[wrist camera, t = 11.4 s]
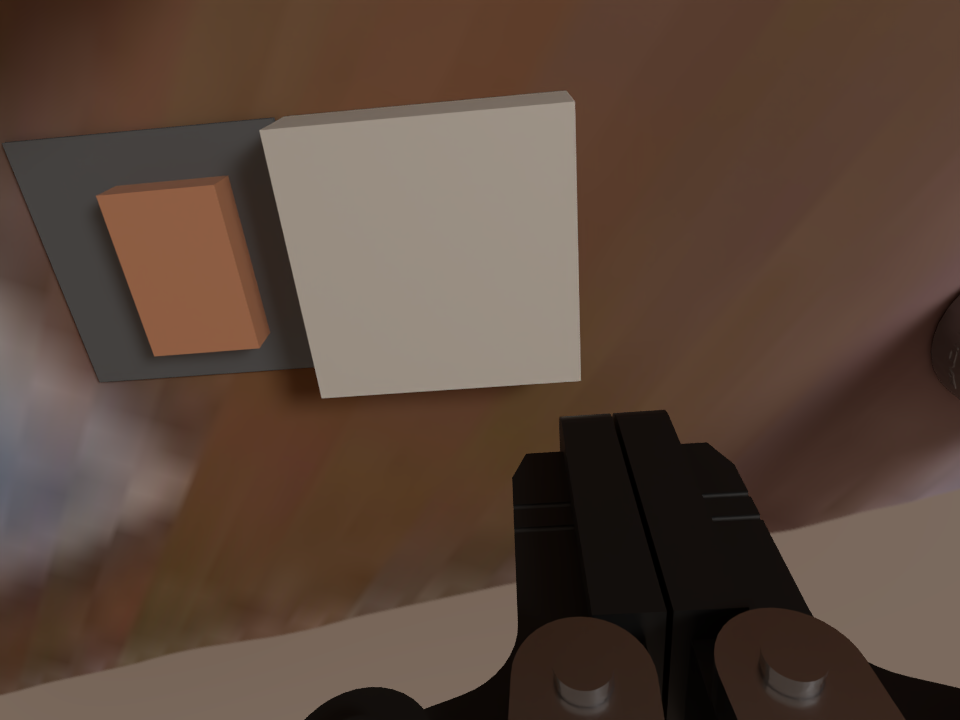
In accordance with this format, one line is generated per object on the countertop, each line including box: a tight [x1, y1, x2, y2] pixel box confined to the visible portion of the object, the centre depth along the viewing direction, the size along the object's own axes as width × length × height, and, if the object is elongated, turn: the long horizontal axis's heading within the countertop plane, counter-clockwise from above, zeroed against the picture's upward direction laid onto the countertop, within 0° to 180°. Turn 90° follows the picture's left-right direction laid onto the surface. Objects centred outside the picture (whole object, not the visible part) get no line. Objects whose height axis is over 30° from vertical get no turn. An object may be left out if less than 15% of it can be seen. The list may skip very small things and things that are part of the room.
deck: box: [259, 91, 581, 398], centre depth 35 cm, size 14×14×4 cm
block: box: [96, 176, 270, 356], centre depth 36 cm, size 6×9×2 cm, turn 5°
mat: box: [2, 118, 314, 382], centre depth 37 cm, size 14×14×1 cm
